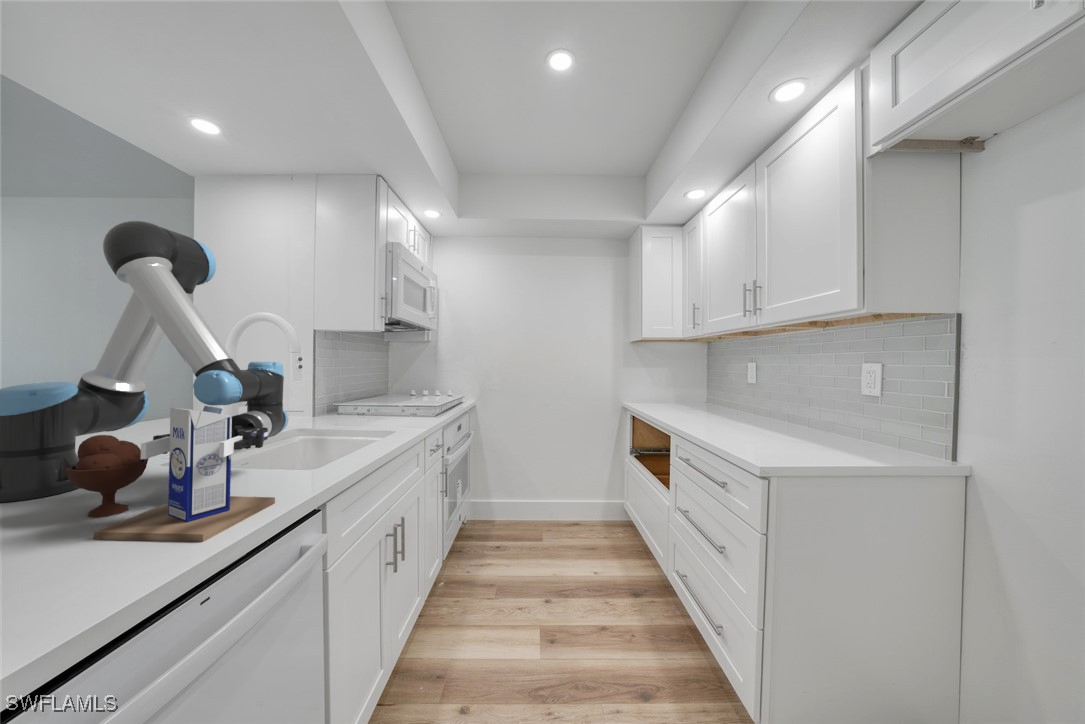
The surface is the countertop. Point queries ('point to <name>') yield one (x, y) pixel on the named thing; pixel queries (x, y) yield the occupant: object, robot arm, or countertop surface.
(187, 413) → the milk carton
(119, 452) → the ice cream bowl
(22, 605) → the countertop surface
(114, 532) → the walnut board
